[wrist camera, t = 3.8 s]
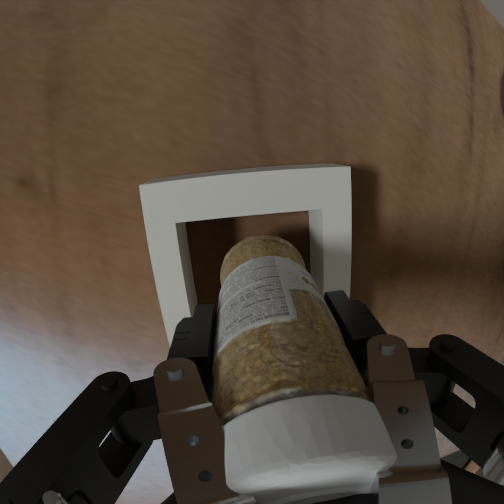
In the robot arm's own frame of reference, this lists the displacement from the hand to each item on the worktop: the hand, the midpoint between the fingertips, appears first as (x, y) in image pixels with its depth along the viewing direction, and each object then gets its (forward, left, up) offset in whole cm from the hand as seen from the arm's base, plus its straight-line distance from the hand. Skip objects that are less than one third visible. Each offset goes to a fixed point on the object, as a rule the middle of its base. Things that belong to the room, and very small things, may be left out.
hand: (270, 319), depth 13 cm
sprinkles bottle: (0, 0, -5) cm, 5 cm away
